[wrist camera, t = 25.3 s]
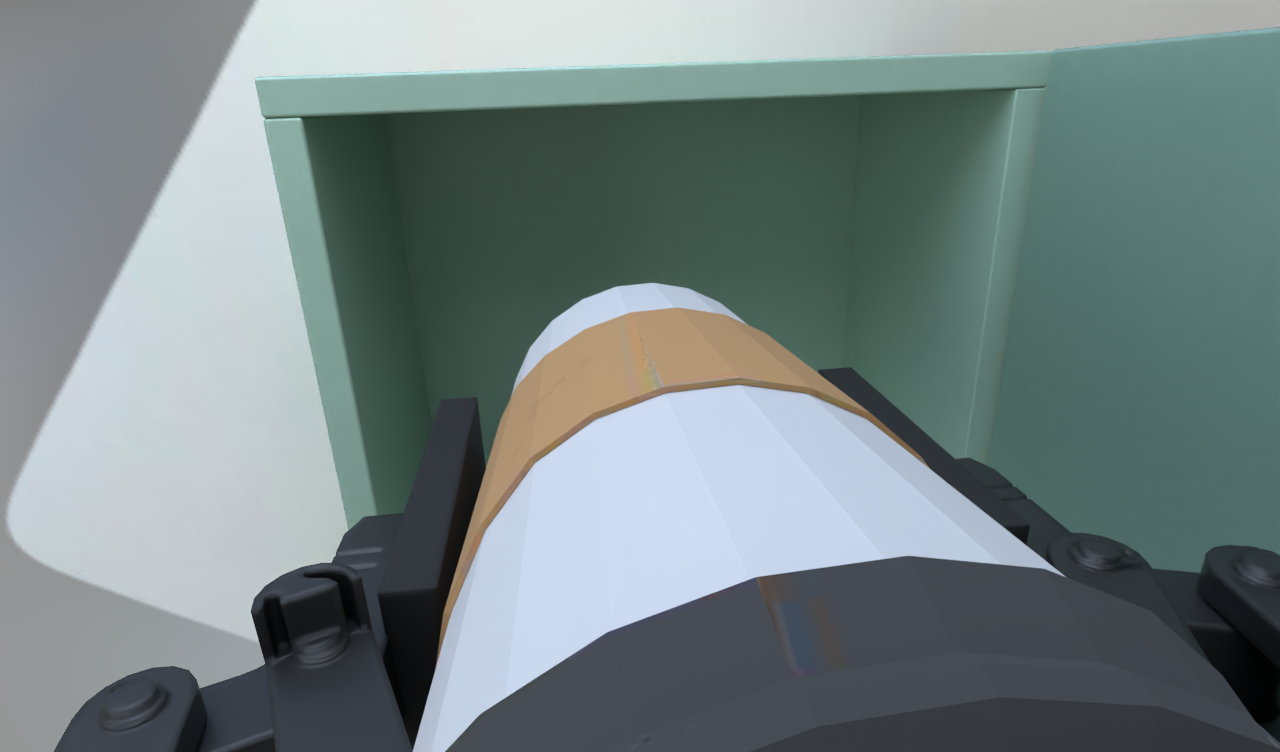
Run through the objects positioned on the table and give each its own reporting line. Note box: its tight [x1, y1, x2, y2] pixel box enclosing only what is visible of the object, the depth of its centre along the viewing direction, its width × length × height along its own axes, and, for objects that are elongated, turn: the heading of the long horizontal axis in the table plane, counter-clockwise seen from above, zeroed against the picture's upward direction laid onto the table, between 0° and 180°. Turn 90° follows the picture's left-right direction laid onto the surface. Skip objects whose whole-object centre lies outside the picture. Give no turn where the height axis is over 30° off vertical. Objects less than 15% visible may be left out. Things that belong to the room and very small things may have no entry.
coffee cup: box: [413, 283, 1280, 752], centre depth 11 cm, size 8×8×15 cm
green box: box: [255, 51, 1052, 530], centre depth 26 cm, size 20×16×11 cm
